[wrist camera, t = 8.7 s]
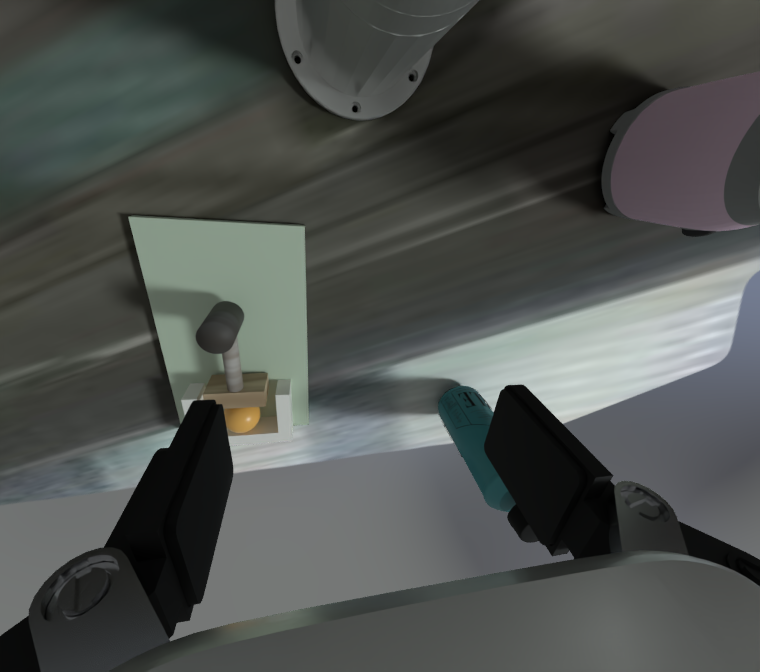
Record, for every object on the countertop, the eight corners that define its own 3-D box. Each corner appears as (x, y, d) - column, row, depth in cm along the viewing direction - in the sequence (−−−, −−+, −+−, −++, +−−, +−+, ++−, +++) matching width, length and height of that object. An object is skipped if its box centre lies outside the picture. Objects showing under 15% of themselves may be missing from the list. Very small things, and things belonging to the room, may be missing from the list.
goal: (190, 383, 36) (180, 400, 34) (290, 379, 39) (289, 394, 36) (200, 430, 40) (192, 448, 37) (293, 424, 42) (291, 441, 39)
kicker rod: (197, 294, 32) (172, 322, 26) (261, 295, 33) (250, 322, 27) (214, 389, 37) (196, 430, 31) (269, 387, 38) (261, 426, 32)
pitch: (133, 215, 29) (128, 216, 28) (304, 224, 32) (304, 226, 31) (185, 427, 40) (182, 433, 39) (308, 419, 43) (308, 424, 42)
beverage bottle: (434, 419, 48) (506, 563, 30) (430, 383, 45) (508, 522, 27) (475, 407, 48) (569, 542, 31) (474, 372, 45) (578, 500, 28)
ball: (220, 441, 36) (229, 421, 39) (258, 438, 37) (263, 419, 40) (216, 410, 34) (225, 392, 38) (256, 407, 35) (261, 390, 39)
